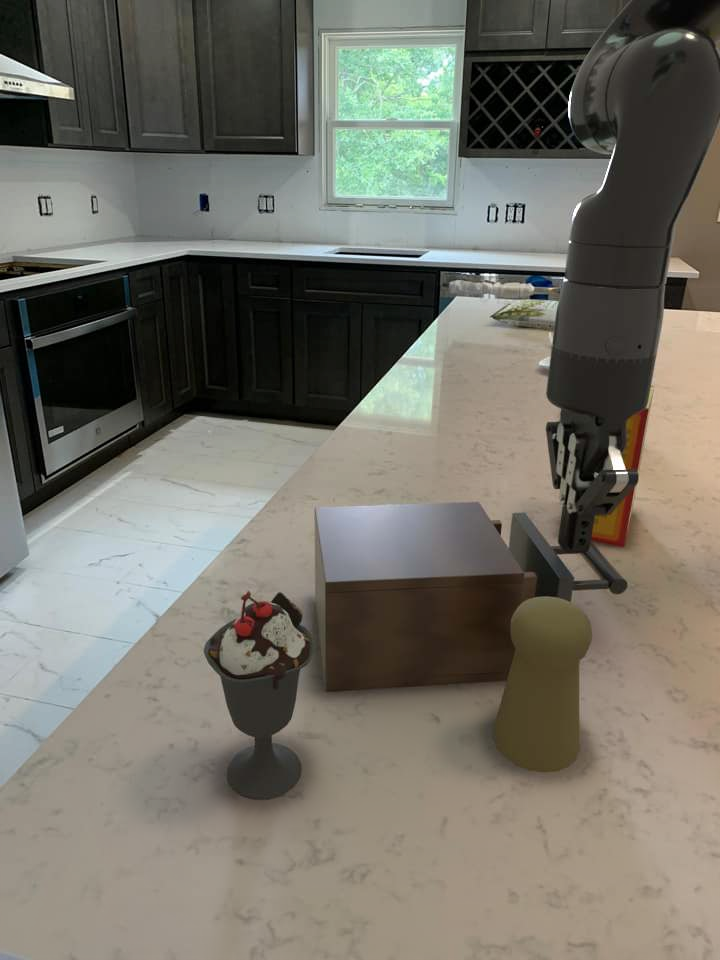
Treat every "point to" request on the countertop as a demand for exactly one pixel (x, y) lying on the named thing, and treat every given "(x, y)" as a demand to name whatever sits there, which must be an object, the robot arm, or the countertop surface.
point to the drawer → (554, 564)
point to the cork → (543, 685)
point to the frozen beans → (529, 313)
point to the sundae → (262, 690)
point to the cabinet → (413, 596)
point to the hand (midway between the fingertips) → (572, 548)
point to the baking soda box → (617, 523)
